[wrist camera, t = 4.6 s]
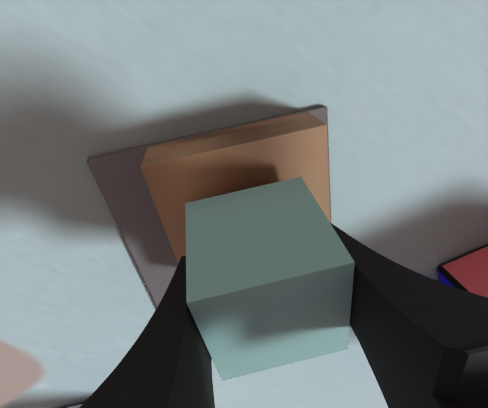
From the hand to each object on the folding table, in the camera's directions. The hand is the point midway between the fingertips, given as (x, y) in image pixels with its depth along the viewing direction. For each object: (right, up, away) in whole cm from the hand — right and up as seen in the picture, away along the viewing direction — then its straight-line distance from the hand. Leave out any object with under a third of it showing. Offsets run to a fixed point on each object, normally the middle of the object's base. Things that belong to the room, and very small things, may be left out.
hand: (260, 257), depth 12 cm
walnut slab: (-1, +3, +4) cm, 5 cm away
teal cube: (0, +1, +2) cm, 2 cm away
